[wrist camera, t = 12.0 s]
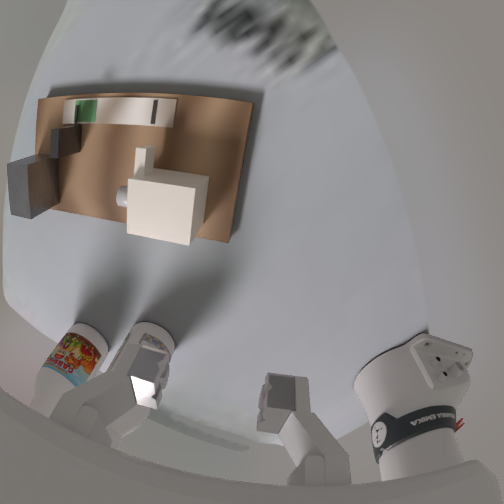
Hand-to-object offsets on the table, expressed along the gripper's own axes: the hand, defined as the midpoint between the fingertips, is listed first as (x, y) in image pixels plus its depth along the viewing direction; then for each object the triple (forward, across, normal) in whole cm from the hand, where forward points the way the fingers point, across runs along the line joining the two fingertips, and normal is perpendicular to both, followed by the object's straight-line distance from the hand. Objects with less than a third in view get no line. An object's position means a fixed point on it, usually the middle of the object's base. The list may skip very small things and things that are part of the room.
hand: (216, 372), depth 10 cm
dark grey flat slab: (+20, +20, -6) cm, 29 cm away
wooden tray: (+21, +15, -3) cm, 26 cm away
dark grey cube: (+20, +26, 0) cm, 32 cm away
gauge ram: (+20, +9, -1) cm, 21 cm away
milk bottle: (+21, +23, +27) cm, 41 cm away
